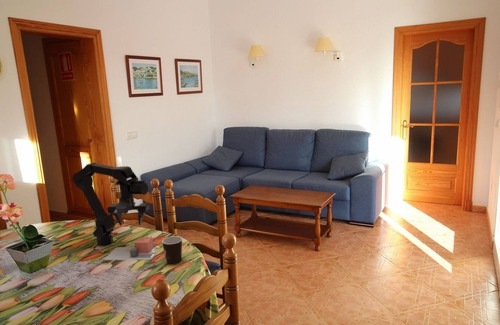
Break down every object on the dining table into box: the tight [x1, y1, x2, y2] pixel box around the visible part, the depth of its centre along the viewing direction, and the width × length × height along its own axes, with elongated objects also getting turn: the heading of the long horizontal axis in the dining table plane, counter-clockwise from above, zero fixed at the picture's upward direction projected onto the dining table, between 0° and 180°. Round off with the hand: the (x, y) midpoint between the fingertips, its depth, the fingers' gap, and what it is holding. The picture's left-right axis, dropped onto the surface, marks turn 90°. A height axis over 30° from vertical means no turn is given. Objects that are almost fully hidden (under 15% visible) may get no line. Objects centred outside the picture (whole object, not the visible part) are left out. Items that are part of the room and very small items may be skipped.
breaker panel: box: [103, 245, 161, 261], centre depth 175 cm, size 22×13×2 cm, turn 85°
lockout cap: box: [134, 236, 154, 253], centre depth 177 cm, size 6×6×5 cm
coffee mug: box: [161, 235, 183, 266], centre depth 168 cm, size 12×9×10 cm
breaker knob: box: [130, 247, 139, 257], centre depth 171 cm, size 2×3×3 cm
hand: (130, 225), depth 180 cm, fingers open, 9 cm apart
